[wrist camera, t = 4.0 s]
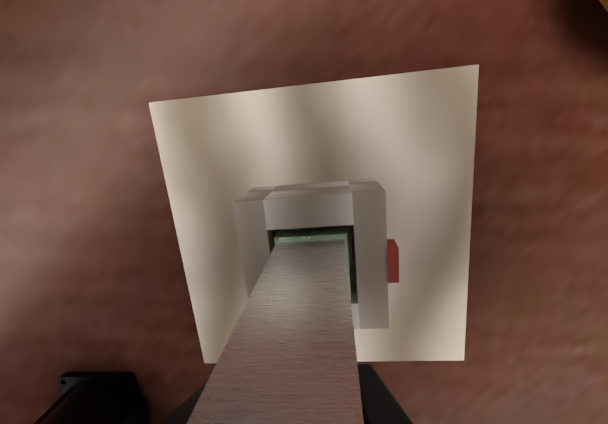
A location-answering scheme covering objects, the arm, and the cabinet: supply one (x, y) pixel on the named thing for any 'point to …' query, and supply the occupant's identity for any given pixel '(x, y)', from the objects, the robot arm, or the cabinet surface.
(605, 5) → the nautilus
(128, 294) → the cabinet surface
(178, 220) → the birch stand
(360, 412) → the steel post
